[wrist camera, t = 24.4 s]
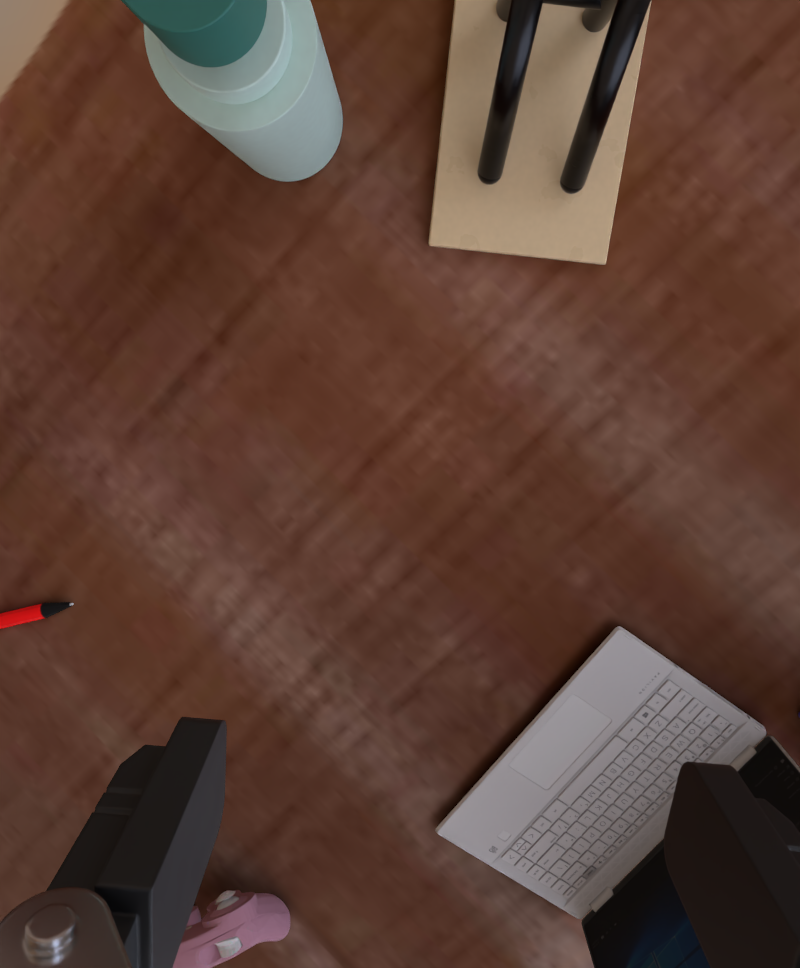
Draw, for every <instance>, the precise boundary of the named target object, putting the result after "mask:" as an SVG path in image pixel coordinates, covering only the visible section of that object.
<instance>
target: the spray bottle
mask: <svg viewBox="0 0 800 968" xmlns="http://www.w3.org/2000/svg"><path fill="white" fill-rule="evenodd" d="M121 1H122V2H123V3H124V4H125V5H126V6H127V7H128V8H129V9H130V10H131V11H132V12H133V13H134V14H135V15H136V16H137V17H138V18H139V19H140V21H141V22H142V23H143V24H144V39H145V45H146V51H147V55H148V58H149V62H150V65H151V68H152V70H153V72H154V75H155V77H156V79H157V81H158V82H159V84H160V86H161V88H162V89H163V90H164V92H165V93H166V95H167V96H168V97H169V98H170V100H171V101H172V102H173V103H174V104H175V105H176V106H177V107H178V108H179V109H180V110H182V111H183V112H184V113H185V114H186V115H187V116H189V117H190V118H191V119H192V120H194V121H195V122H196V123H197V124H198V125H200V126H201V127H202V128H203V129H205V130H206V131H207V132H208V133H209V134H211V135H212V136H213V137H214V138H216V139H217V140H218V141H219V142H220V143H222V144H223V145H224V146H225V147H227V148H228V149H229V150H230V151H231V152H233V153H234V154H235V155H236V156H238V157H239V158H240V159H241V160H242V161H244V162H245V163H246V164H247V165H249V166H250V167H251V168H252V169H253V170H255V171H256V172H258V173H259V174H261V175H263V176H265V177H267V178H270V179H273V180H278V181H287V182H291V181H298V180H302V179H305V178H308V177H310V176H312V175H314V174H316V173H317V172H319V171H320V170H321V169H322V168H323V167H324V166H325V165H326V164H327V163H328V162H329V161H330V160H331V158H332V157H333V155H334V153H335V152H336V150H337V147H338V145H339V142H340V139H341V135H342V128H343V115H342V107H341V103H340V99H339V96H338V92H337V89H336V85H335V82H334V79H333V75H332V72H331V68H330V65H329V61H328V58H327V55H326V51H325V48H324V44H323V41H322V37H321V34H320V31H319V27H318V24H317V20H316V17H315V13H314V10H313V7H312V4H311V1H310V0H121Z"/></svg>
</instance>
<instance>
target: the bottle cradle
mask: <svg viewBox="0 0 800 968" xmlns="http://www.w3.org/2000/svg"><path fill="white" fill-rule="evenodd" d="M650 6H651V0H454V9H453V18H452V27H451V37H450V46H449V55H448V65H447V74H446V83H445V93H444V102H443V111H442V120H441V130H440V139H439V148H438V158H437V167H436V176H435V186H434V195H433V204H432V213H431V223H430V232H429V241H428V246H433V247H442V248H451V249H460V250H469V251H479V252H488V253H497V254H506V255H515V256H525V257H534V258H543V259H552V260H561V261H571V262H580V263H589V264H598V265H603V264H606V259H607V253H608V248H609V242H610V236H611V230H612V225H613V219H614V213H615V207H616V202H617V196H618V190H619V184H620V179H621V173H622V167H623V161H624V156H625V150H626V144H627V138H628V133H629V127H630V121H631V115H632V110H633V104H634V98H635V92H636V87H637V81H638V75H639V69H640V64H641V58H642V52H643V46H644V41H645V35H646V29H647V23H648V18H649V12H650Z"/></svg>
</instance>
